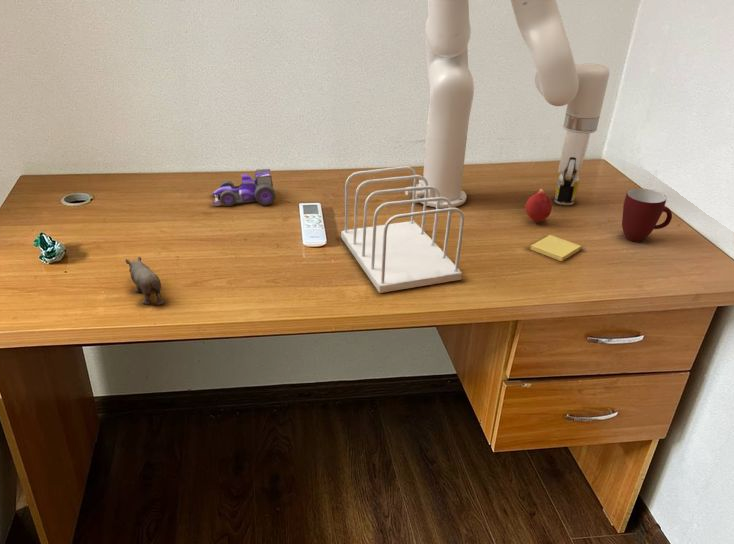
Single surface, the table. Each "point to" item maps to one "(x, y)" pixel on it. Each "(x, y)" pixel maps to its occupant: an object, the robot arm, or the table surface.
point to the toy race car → (247, 190)
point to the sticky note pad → (555, 247)
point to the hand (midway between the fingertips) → (565, 196)
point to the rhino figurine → (145, 280)
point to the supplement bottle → (573, 190)
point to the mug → (643, 213)
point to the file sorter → (401, 240)
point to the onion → (539, 206)
